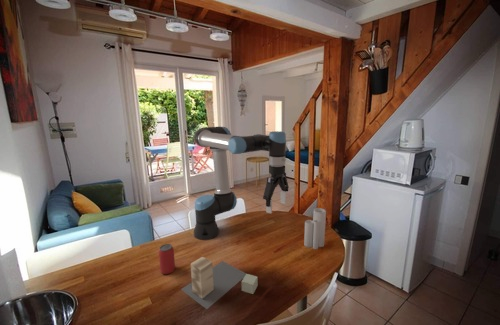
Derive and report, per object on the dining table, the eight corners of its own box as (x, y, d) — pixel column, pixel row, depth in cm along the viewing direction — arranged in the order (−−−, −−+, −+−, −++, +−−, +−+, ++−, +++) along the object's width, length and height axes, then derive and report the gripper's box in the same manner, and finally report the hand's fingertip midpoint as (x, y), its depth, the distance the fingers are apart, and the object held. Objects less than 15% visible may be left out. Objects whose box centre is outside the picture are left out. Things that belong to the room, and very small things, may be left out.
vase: (318, 239, 132) (320, 207, 128) (327, 246, 125) (329, 212, 121) (302, 243, 127) (303, 210, 124) (310, 250, 121) (311, 215, 117)
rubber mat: (181, 290, 94) (180, 289, 94) (222, 262, 112) (222, 260, 112) (206, 310, 84) (206, 309, 84) (247, 275, 103) (247, 274, 102)
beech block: (192, 292, 92) (190, 263, 90) (204, 283, 97) (202, 256, 94) (202, 299, 89) (200, 269, 86) (213, 290, 93) (212, 261, 91)
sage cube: (241, 292, 93) (241, 281, 92) (246, 283, 98) (246, 273, 97) (253, 295, 91) (252, 284, 90) (257, 287, 96) (257, 276, 95)
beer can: (178, 267, 109) (176, 244, 106) (169, 276, 103) (166, 252, 100) (166, 264, 111) (164, 242, 109) (157, 273, 105) (154, 249, 102)
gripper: (269, 171, 94) (269, 219, 98) (296, 161, 113) (294, 201, 118) (255, 169, 98) (255, 214, 102) (282, 159, 118) (282, 198, 122)
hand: (276, 207), depth 110 cm, fingers open, 13 cm apart
